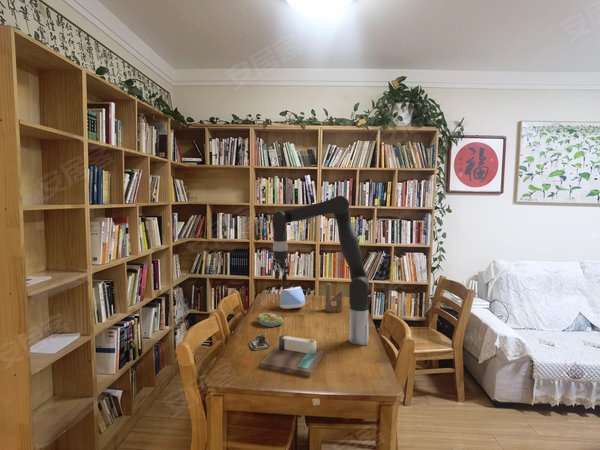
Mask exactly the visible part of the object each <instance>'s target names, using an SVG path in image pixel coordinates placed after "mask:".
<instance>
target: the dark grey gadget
mask: <svg viewBox="0 0 600 450" xmlns="http://www.w3.org/2000/svg"><path fill="white" fill-rule="evenodd" d="M249 346H250V348H251V349H252V350H254V351H259V350H260V351H261V350H264V349H267V348H269V347H270V342H269V340H268V339H266V336H265V334H257V335H255V339H253V340H250V341H249Z"/></svg>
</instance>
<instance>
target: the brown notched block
mask: <svg viewBox="0 0 600 450" xmlns="http://www.w3.org/2000/svg"><path fill="white" fill-rule="evenodd" d="M332 302H336V303H335V305H334V304H332ZM324 311H325V312H331V313H333V312H334V313H342V312H343V289H341V290H340V291H339V292H338V293H336V294H335V295H334V296H333V297H332V284H331V283H330V282H329V283H325V307H324Z"/></svg>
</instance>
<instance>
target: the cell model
mask: <svg viewBox="0 0 600 450" xmlns="http://www.w3.org/2000/svg"><path fill="white" fill-rule="evenodd" d="M256 321H257V323H259V324H260V325H261V326H263V327H267V328H271V327H277V326H279V325H280V326H281V325H282V324H284V319H283V318H282V317H281V316H280V315H279V314H276V313H275V314H274V313H271V312H270V313H269V312H263V313H260V314H258V315H257V316H256Z"/></svg>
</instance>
